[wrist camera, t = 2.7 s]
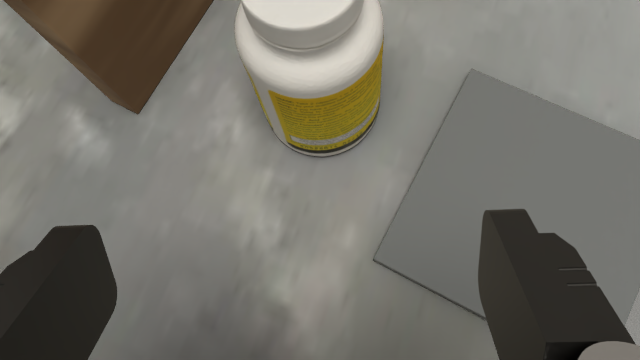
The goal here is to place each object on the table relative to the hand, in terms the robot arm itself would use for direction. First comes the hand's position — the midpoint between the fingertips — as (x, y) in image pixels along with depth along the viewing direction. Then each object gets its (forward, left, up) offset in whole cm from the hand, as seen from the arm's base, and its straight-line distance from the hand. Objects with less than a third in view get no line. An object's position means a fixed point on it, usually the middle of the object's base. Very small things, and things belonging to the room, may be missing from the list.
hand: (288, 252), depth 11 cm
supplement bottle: (-4, +8, -13) cm, 16 cm away
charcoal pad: (+6, +7, -13) cm, 16 cm away
